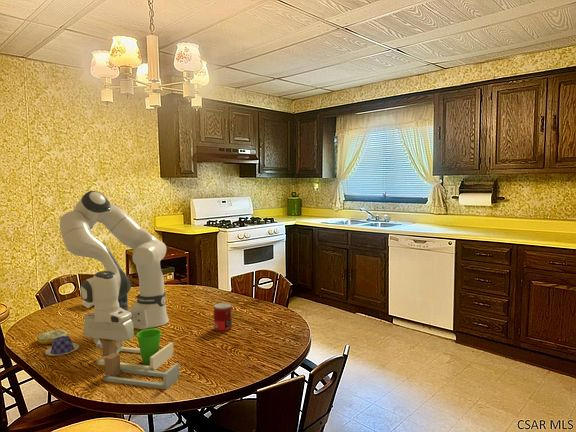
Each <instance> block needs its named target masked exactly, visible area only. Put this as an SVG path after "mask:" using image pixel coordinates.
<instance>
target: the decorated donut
mask: <svg viewBox="0 0 576 432" xmlns="http://www.w3.org/2000/svg"><path fill="white" fill-rule="evenodd" d="M61 336H68V333H67V331H66V330H65V329H53V330H52V329H51V330H48V331H44V332H42V333H40V334H38V335H37V339H36V340H37V342H38V343H39V344H41V345H43V344H45V345H44V346H47V344H49V345H52V344H53V341H54V339H55V338H58V337H61Z"/></svg>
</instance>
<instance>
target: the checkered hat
mask: <svg viewBox="0 0 576 432" xmlns="http://www.w3.org/2000/svg"><path fill="white" fill-rule="evenodd" d="M73 346H75V349H74V347H73ZM79 348H80V344H78V343H74V342H72V339H71V338H70V336H68V335H67V336H61V337H58V338H55V339H54V341H53V344H51V347H49V348H47V349H46V350H45V351H44V355H47V356H63V355H68V354H70V353H72V352H75V351H77V350H78V349H79ZM73 349H74V350H73Z"/></svg>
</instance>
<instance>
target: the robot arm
mask: <svg viewBox="0 0 576 432" xmlns="http://www.w3.org/2000/svg"><path fill="white" fill-rule="evenodd" d="M97 223H101V224H102V225H104V227H105V228H106V229H107V230H108V231H109V232H110V233H111V234H112V235H113V236H114V237H115V238H116V239H117V240H118V241H119V243H121V244H123V246H126V247H128V248H130V249H132V250H134V251H133V253H132V262H133V264H134V265H135V267H136V272H137V275H138V281H139V282H138V284H139V294H138V295H136V296H135V298H134V300H136V302H134V304H132V305H131V306H130V307H128V310H127V311H126V310H124V309H122V308H120V306H119V302H118V298H122V297H125V296H126V295H127V296H128V294H129V292H130V290H131V287H132V283H131V280H130V278H129V276H128V275H127V273H125V272H124V271H123V269H122V268H121V266H120V264H119V263H118V261H117V260H116V258H115V256H114V254H113V253H112V251H111V250H110V248H109V247H108V245H107V244H106V243H105V242H103V241H100V240H99V238H97V237H96V236H95V235H94V234H93V232H92V229H93V227H94V226H95V225H96V224H97ZM59 229H60V234H61V238H62V241H63V244H64V247H65V248H66V250H67V251H68V252H69V253H71V254H72V255H74V256H77V257H80V258H81V257H84V258H89V259H94V260H96V261H99V262H100V263H101V264H102V265H103V267H104V268H105V270H102V271H98V272H95V274H94V275H93V277H90V278H87V279H85V280H84V281H83V282H82V283H81V285H80V289H79V290H80V291H79V292H80V293H79V294H80V298H81V300H82V301H83V300H84V301H86V302H88V303H94V304H95V305H94V306H93V309H94V310H93V313H92V312H87V313H86V314H85V315H84V323H83V332H82V333H83V336H84V337H85V338H92V339H93V342H94V343H95V345H96V350H101V349H102V341H101V340H100V339H102V340H104V339H110V340H116V347H115V349H116V351H120V352H122V351H121V350H122V347H123V344H124V342H129V341H130V340H132V339H133V338H134V336H135V333H134V332H135V331H134V329H138V330H146V329H152V328H157V327H161V326H164V325H166V324H167V323H169V322H170V319H169V316H168V311H167V306H166V291H165V278H164V277H165V276H164V274H163V272H162V267H161V261H162V260H163V259H164V258H165V257H166V254H167V245H166V243H164V241H161V240H159V239H158V238H157V237H155V236H154V235H152V234H151V233H150V232H148V231H146V229H145V228H143V227H141V225H139V224H138V222H136V221H135V220H134V219H133V218H132V217H131V216H130V215H129V214H128V213H126V212H125V211H124V210H123V209H122V208H120V207H119V206H117V205H116V204H115V203H114V204H113V203H111V201H109V200H108V198H107V197H106V196H105V195H104V194H103V193H102V192H100V191H97V190H89V191H87V192H86V193H84V194H83V195H82V197H81V198H80V199H79V201H78V202H77V203H76V204H75V206H74V209H73V210H72V211H71V210H70V211H68V212H66V213H64V214H62V215H61V217H60V219H59ZM117 343H118V344H117Z"/></svg>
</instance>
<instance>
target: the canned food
mask: <svg viewBox="0 0 576 432" xmlns="http://www.w3.org/2000/svg"><path fill="white" fill-rule="evenodd" d="M232 309H233V308H232V304H231V303H229V302H218V303H216V304H214V305H213V320H214V321H213V323H214V324H213V325H214V326H213V327H214V330H215V331H217V332H229V331H231V330H232V327H233V320H232V319H233V315H232V313H233V312H232V311H233V310H232Z"/></svg>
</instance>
